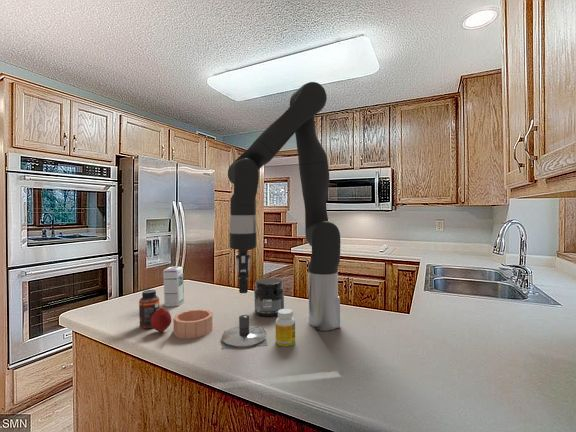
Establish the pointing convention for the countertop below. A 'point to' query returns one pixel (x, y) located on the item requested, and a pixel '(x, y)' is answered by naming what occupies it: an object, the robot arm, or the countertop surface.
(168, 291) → the syrup box
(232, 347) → the mat
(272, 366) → the countertop surface
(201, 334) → the bowl
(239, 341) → the lid
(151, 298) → the supplement bottle
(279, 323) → the supplement bottle
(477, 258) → the countertop surface
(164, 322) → the onion
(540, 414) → the countertop surface
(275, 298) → the supplement container
